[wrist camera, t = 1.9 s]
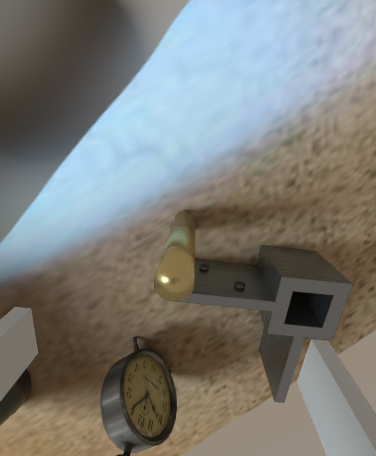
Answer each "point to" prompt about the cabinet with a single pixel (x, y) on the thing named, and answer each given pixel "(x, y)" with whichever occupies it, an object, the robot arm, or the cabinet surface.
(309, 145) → the cabinet surface
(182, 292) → the hinge pin
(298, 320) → the hinge leaves
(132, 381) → the alarm clock
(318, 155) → the cabinet surface
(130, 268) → the cabinet surface
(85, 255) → the cabinet surface
